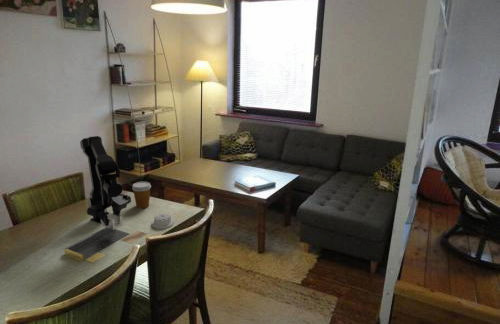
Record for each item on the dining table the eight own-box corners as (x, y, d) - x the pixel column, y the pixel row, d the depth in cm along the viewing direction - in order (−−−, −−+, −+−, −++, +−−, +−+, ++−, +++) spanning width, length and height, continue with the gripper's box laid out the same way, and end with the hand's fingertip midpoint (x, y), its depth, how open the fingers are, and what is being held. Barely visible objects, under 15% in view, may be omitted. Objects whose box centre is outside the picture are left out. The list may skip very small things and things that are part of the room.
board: (120, 240, 150) (120, 240, 150) (137, 230, 159) (137, 230, 159) (130, 243, 148) (130, 243, 148) (147, 234, 156) (147, 233, 156)
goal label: (85, 260, 135) (85, 259, 135) (98, 252, 140) (98, 252, 140) (92, 262, 133) (92, 262, 133) (105, 255, 139) (105, 255, 138)
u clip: (101, 226, 151) (100, 216, 149) (110, 221, 155) (109, 212, 154) (113, 229, 148) (112, 220, 146) (122, 225, 152) (121, 215, 151)
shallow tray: (62, 254, 138) (62, 249, 138) (113, 228, 160) (112, 224, 159) (80, 261, 134) (80, 256, 133) (130, 234, 155) (129, 229, 155)
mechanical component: (148, 228, 162) (168, 230, 160) (147, 219, 161) (168, 221, 159) (157, 219, 171) (177, 221, 170) (157, 210, 170) (176, 212, 168)
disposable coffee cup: (136, 202, 190) (135, 181, 186) (154, 202, 190) (153, 181, 186) (130, 209, 181) (128, 187, 177) (149, 210, 180) (147, 188, 177)
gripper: (104, 200, 135) (107, 237, 139) (139, 186, 151) (141, 219, 155) (84, 195, 140) (88, 230, 144) (120, 181, 156) (122, 213, 160)
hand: (111, 223), depth 151 cm, fingers closed on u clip, 5 cm apart
